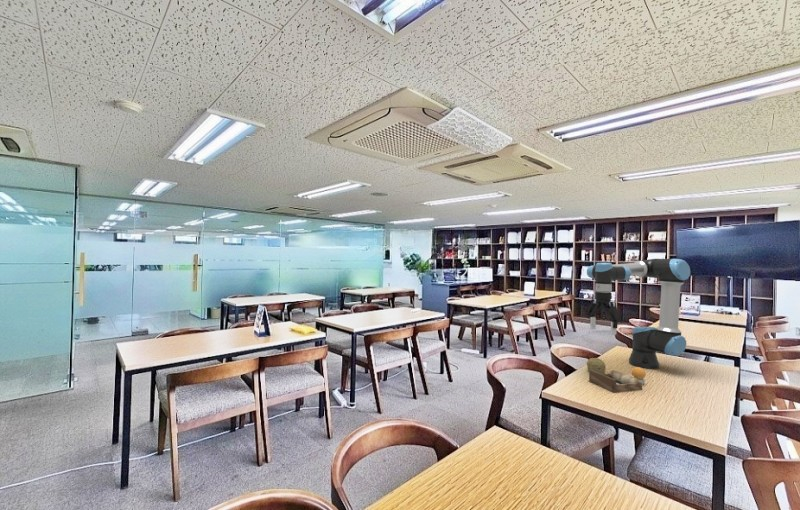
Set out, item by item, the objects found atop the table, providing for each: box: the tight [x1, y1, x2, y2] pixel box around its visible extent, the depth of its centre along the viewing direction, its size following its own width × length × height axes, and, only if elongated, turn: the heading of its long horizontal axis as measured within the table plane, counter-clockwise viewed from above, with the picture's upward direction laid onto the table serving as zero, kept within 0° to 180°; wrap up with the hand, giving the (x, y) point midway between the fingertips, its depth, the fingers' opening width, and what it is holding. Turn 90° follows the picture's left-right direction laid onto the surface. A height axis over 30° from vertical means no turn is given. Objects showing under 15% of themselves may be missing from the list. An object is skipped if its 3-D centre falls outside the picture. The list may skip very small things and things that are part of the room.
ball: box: [631, 366, 646, 379], centre depth 179 cm, size 6×6×6 cm
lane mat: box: [588, 380, 623, 393], centre depth 175 cm, size 17×15×1 cm
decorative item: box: [586, 357, 607, 374], centre depth 195 cm, size 10×10×10 cm
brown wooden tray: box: [588, 369, 643, 394], centre depth 175 cm, size 17×15×6 cm
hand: (602, 331), depth 184 cm, fingers open, 13 cm apart
